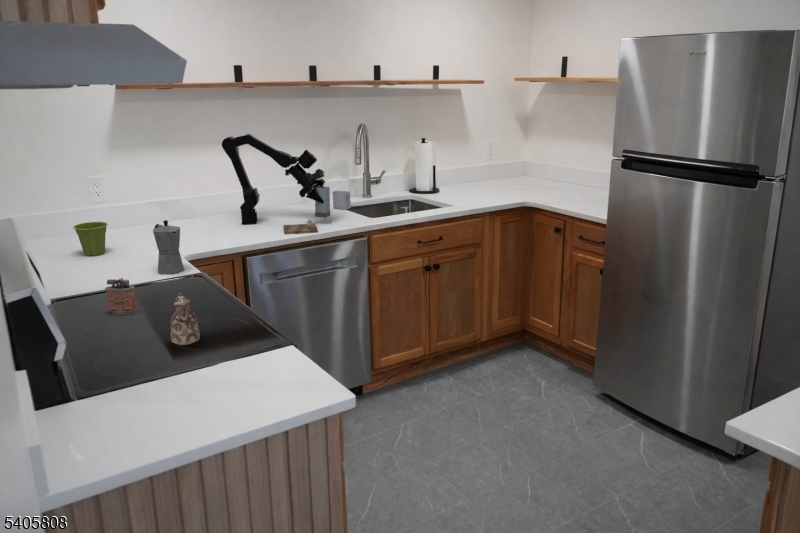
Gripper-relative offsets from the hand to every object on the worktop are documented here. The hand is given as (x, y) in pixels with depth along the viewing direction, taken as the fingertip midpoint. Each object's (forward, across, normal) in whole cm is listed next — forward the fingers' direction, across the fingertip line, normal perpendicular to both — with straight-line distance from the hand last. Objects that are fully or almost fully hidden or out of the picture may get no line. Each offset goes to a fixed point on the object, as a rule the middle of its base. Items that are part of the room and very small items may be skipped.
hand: (325, 201), depth 294 cm
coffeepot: (-12, -81, +27) cm, 86 cm away
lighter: (-5, -120, +20) cm, 122 cm away
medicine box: (+4, +32, +10) cm, 34 cm away
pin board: (+2, -15, +12) cm, 19 cm away
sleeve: (+4, 0, +6) cm, 7 cm away
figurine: (+16, -134, -1) cm, 135 cm away
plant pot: (-41, -68, +56) cm, 97 cm away
